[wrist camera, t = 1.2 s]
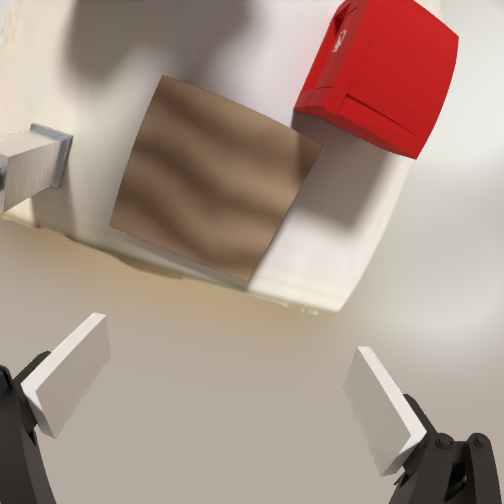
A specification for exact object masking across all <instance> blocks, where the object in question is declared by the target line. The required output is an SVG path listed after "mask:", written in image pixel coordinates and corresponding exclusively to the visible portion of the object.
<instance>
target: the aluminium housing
mask: <svg viewBox="0 0 504 504" xmlns="http://www.w3.org/2000/svg"><path fill="white" fill-rule="evenodd" d="M71 140H72V135H69V134H66V133H63V132H60V131H57V130H55V129H52V128H49V127H46V126H43V125H40V124H36V123H33V124H31V128H30V130H26V131H22V132H18V133H14V134H10V135H6V136H2V137H0V212H2V213H4V212H6V211H7V210H9V209H11V208H12V207H14V206H16V205H17V204H19V203H21V202H22V201H24V200H26V199H27V198H29V197H31V196H33V195H34V194H36V193H38V192H40V191H42V190H44V189H45V188H47V187H49V186H51V187H53V188H56V189H59V188H60V187H61V183H62V178H63V173H64V168H65V164H66V159H67V155H68V151H69V147H70V144H71Z"/></svg>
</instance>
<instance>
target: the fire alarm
mask: <svg viewBox="0 0 504 504" xmlns="http://www.w3.org/2000/svg"><path fill="white" fill-rule="evenodd" d="M458 40H459V37H458V36H457V35H456V34H455V33H454V32H453V31H452V30H450V29H449V28H448V27H447V26H446V25H445V24H444V23H442V22H441V21H440V20H439V19H438V18H436V17H435V16H434V15H433V14H431V13H430V12H429V11H427V10H426V9H425V8H423V7H422V6H421V5H419V4H418V3H417V2H415V1H414V0H345V1H344V2H343V3H342V4H341V5H340V6H339V7H338V9H337V11H336V13H335V14H334V16H333V18H332V20H331V22H330V25H329V27H328V30H327V32H326V35H325V37H324V39H323V41H322V44H321V46H320V48H319V51H318V53H317V55H316V58H315V60H314V62H313V65H312V67H311V69H310V71H309V74H308V76H307V78H306V81H305V83H304V85H303V88H302V90H301V92H300V95H299V97H298V99H297V102H296V104H295V107H294V111H295V112H298V113H300V114H313V115H315V116H317V117H319V118H321V119H323V120H326V121H328V122H330V123H332V124H334V125H336V126H338V127H340V128H342V129H344V130H346V131H348V132H350V133H352V134H354V135H356V136H357V137H359V138H361V139H363V140H365V141H367V142H369V143H371V144H373V145H375V146H377V147H379V148H382V149H384V150H387V151H390V152H392V153H395V154H398V155H402V156H405V157H409V158H412V159H417V157H418V155H419V154H420V152H421V150H422V148H423V147H424V145H425V143H426V141H427V139H428V138H429V136H430V134H431V132H432V130H433V128H434V126H435V123H436V121H437V118H438V116H439V114H440V111H441V109H442V106H443V103H444V101H445V98H446V95H447V92H448V89H449V86H450V83H451V79H452V76H453V72H454V67H455V64H456V58H457V51H458Z"/></svg>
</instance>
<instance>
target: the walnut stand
mask: <svg viewBox="0 0 504 504" xmlns="http://www.w3.org/2000/svg"><path fill="white" fill-rule="evenodd" d="M322 147H323V146H322V145H321V144H319V143H317V142H315V141H313V140H312V139H310V138H308V137H306V136H304V135H302V134H300V133H299V132H297V131H295V130H293V129H291V128H289V127H287V126H285V125H283V124H281V123H279V122H277V121H275V120H273V119H271V118H269V117H267V116H265V115H262V114H260V113H258V112H256V111H254V110H252V109H249V108H247V107H245V106H243V105H240V104H238V103H236V102H233V101H231V100H229V99H226V98H224V97H222V96H219V95H217V94H214V93H212V92H209V91H206V90H204V89H201V88H199V87H196V86H193V85H190V84H188V83H185V82H182V81H179V80H176V79H173V78H170V77H167V76H164V75H163V76H162V78H161V80H160V82H159V84H158V86H157V89H156V91H155V93H154V95H153V98H152V100H151V102H150V105H149V107H148V109H147V112H146V114H145V117H144V119H143V122H142V124H141V127H140V129H139V132H138V135H137V137H136V140H135V143H134V146H133V148H132V151H131V154H130V157H129V160H128V163H127V166H126V169H125V172H124V175H123V179H122V182H121V185H120V189H119V192H118V196H117V199H116V203H115V206H114V210H113V214H112V218H111V222H110V226H111V227H113V228H116V229H118V230H120V231H123V232H125V233H128V234H130V235H132V236H135V237H137V238H139V239H142V240H144V241H147V242H149V243H151V244H154V245H156V246H159V247H161V248H164V249H166V250H168V251H171V252H173V253H176V254H178V255H181V256H183V257H186V258H188V259H191V260H193V261H196V262H198V263H201V264H203V265H206V266H208V267H211V268H213V269H216V270H219V271H221V272H224V273H226V274H229V275H231V276H234V277H237V278H239V279H242V280H244V281H247V282H248V281H249V279H250V277H251V275H252V274H253V272H254V270H255V268H256V266H257V265H258V263H259V261H260V259H261V258H262V256H263V254H264V252H265V250H266V249H267V247H268V245H269V243H270V241H271V240H272V238H273V236H274V234H275V232H276V231H277V229H278V227H279V225H280V223H281V222H282V220H283V218H284V216H285V214H286V213H287V211H288V209H289V207H290V205H291V204H292V202H293V200H294V198H295V196H296V194H297V193H298V191H299V189H300V187H301V185H302V184H303V182H304V180H305V178H306V176H307V174H308V173H309V171H310V169H311V167H312V165H313V163H314V162H315V160H316V158H317V156H318V154H319V152H320V151H321V149H322Z"/></svg>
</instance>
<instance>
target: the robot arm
mask: <svg viewBox="0 0 504 504" xmlns="http://www.w3.org/2000/svg"><path fill="white" fill-rule="evenodd" d="M109 360H110V350H109V341H108V332H107V321H106V315H102V314H98V313H93V314H92V315H91V316H90V317H89V318H87V319H86V320H85V321H84V322H83V323H82V324H81V325H80V326H79V327H78V328H77V329H76V330H74V331H73V332H72V333H71V334H70V335H69V336H68V337H67V338H66V339H65V340H64V341H63V342H62V343H61V344H60V345H59V346H58V347H57V348H56V349H55V350H54V351H53V352H49V351H46V352H43V353H41V354H39V355H38V356H37V357H36V358H35V359H34V360H33V361H32V362H30V363H29V364H28V366H27V367H25V368H24V369H23V370H22V371H21V372H20V373H19V374H18V375H17V376H16V377H15V378H14V379H13V380H12V378H11V375H10V372H9V370H8V369H7V368H6V367H5V366H2V365H0V503H1V504H56V501H55V499H54V496H53V493H52V490H51V488H50V485H49V481H48V479H47V475H46V472H45V468H44V465H43V461H42V458H41V454H40V450H39V446H38V442H37V437H36V433H35V431H34V427H35V426H36V424H38V426H39V428H40V430H41V432H42V433H44V434H46V435H48V436H50V437H52V438H55V439H56V438H57V436H58V435H59V433H60V431H61V430H62V428H63V427H64V425H65V424H66V422H67V421H68V419H69V418H70V416H71V415H72V413H73V412H74V410H75V409H76V407H77V406H78V404H79V403H80V401H81V399H82V398H83V397H84V395H85V394H86V393H87V391H88V390H89V388H90V387H91V385H92V384H93V382H94V381H95V379H96V378H97V377H98V375H99V374H100V372H101V371H102V369H103V368H104V367H105V365H106V364H107V363H108V361H109ZM343 388H344V391H345V393H346V395H347V398H348V400H349V402H350V404H351V407H352V409H353V411H354V414H355V416H356V418H357V421H358V423H359V425H360V427H361V430H362V432H363V435H364V437H365V439H366V442H367V444H368V446H369V449H370V451H371V454H372V456H373V458H374V461H375V463H376V466H377V468H378V471H379V473H380V476H386V475H391V474H395V473H396V472H397V471H398V470H399V469H400V468H401V466H402V465H403V467H404V469H405V472H404V473H403V474H402V475H401V476H400V477H399V479H398V480H397V481H396V482H395V483H394V485H396V484H397V483H398V482H399V483H398V485H397V487H396V489H395V491H394V494H393V496H392V498H391V500H390V502H389V504H502V503H501V494H500V487H499V481H498V475H497V469H496V464H495V460H494V455H493V451H492V446H491V442H490V440H489V439H488V438H487V437H486V436H485V435H484V434H481V433H473V434H472V435H470V437H469V438H468V440H467V441H457V442H456V441H454V440H453V438H452V437H451V436H449V435H447V434H445V433H437V431H436V430H435V429H434V427H433V425H432V424H431V422H430V421H429V419H428V418H427V417H426V415H425V414H424V412H423V411H422V409H421V408H420V406H419V405H418V404H417V402H416V401H415V400H414V399H413V398H412V397H410V396H409V395H408V394H401V392H400V390H399V389H398V387H397V386H396V384H395V383H394V381H393V380H392V379H391V377H390V375H389V374H388V373H387V371H386V370H385V368H384V367H383V365H382V364H381V362H380V361H379V359H378V358H377V357H376V355H375V354H374V352H373V351H372V350H371V348H370V347H357V349H356V352H355V355H354V358H353V361H352V364H351V366H350V369H349V372H348V375H347V377H346V380H345V383H344V385H343ZM465 477H466V478H465Z"/></svg>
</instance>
